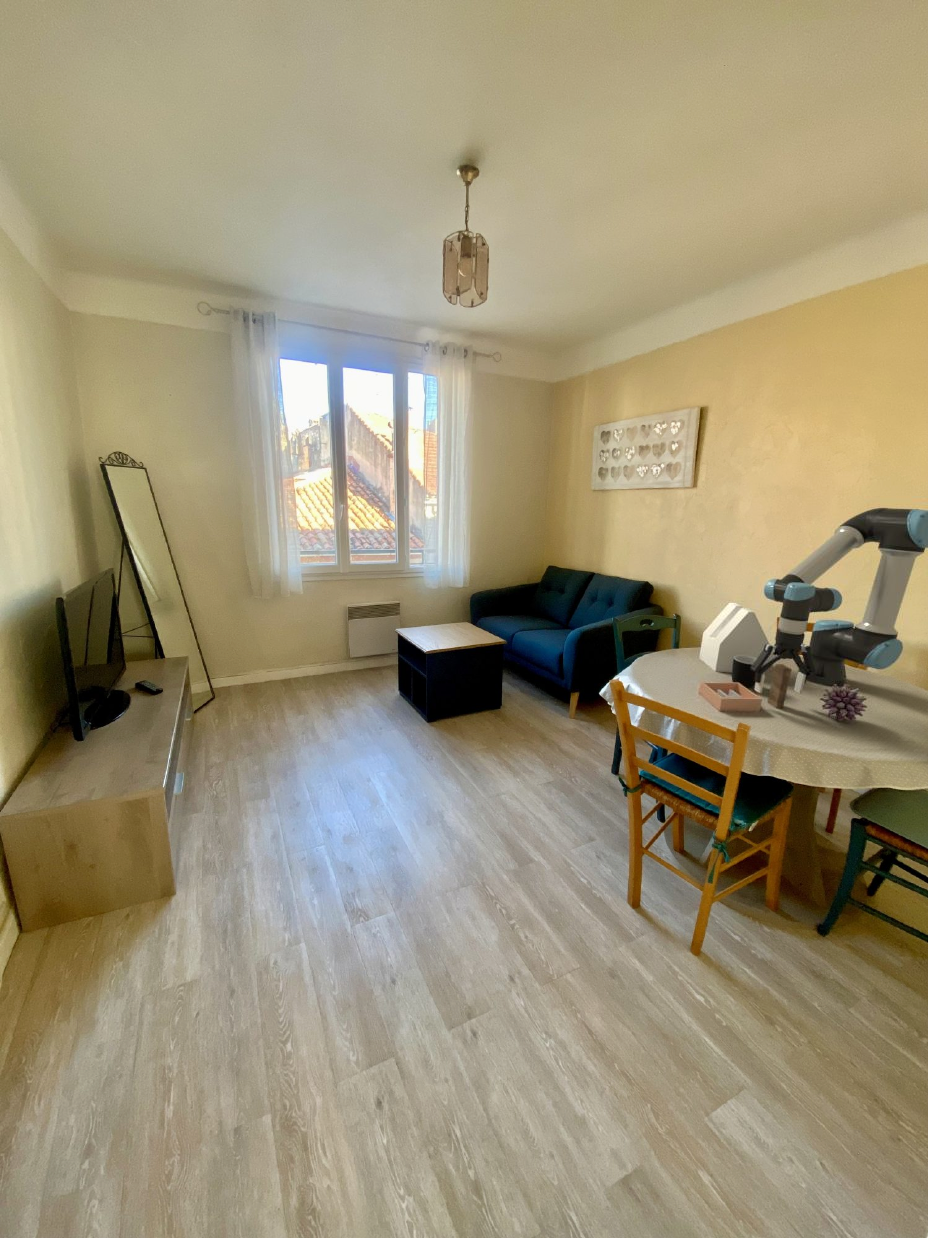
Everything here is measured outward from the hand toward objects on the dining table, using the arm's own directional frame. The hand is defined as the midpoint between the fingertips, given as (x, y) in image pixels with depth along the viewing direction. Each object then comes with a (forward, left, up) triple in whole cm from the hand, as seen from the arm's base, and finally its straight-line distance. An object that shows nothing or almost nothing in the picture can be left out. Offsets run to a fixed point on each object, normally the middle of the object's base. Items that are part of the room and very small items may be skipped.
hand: (777, 691), depth 159 cm
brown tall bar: (0, 0, -5) cm, 5 cm away
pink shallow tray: (+15, -2, -5) cm, 16 cm away
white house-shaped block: (-6, -37, -5) cm, 38 cm away
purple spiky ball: (-14, +10, -5) cm, 18 cm away
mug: (+1, -18, -5) cm, 19 cm away
